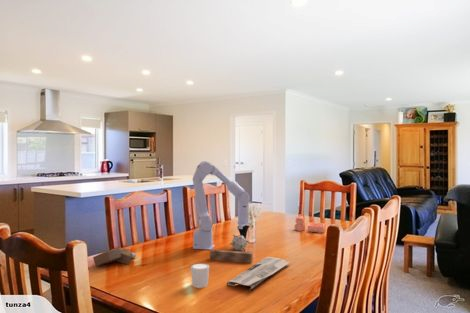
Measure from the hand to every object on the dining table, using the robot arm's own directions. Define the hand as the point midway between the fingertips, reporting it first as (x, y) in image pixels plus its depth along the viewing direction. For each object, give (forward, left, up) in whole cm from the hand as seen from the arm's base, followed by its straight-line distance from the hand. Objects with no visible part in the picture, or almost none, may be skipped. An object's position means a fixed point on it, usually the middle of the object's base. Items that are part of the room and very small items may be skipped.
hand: (243, 239), depth 180 cm
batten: (0, -26, -3) cm, 26 cm away
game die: (0, -10, -3) cm, 10 cm away
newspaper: (+16, -40, -4) cm, 43 cm away
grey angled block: (-48, -41, -3) cm, 63 cm away
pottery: (+32, +43, -3) cm, 54 cm away
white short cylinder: (-4, -56, -3) cm, 56 cm away
